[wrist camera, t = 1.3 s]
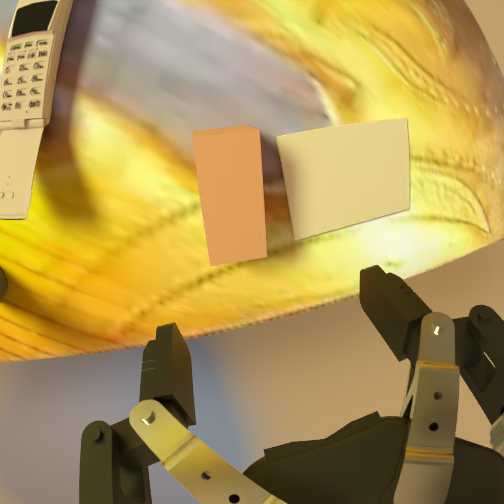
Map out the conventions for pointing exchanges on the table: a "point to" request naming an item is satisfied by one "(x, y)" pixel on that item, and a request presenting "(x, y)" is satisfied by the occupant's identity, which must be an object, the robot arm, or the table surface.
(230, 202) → the card box
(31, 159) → the mobile phone
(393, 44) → the table surface
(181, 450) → the robot arm
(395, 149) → the beige flat plate
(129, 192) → the table surface
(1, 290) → the candle holder
